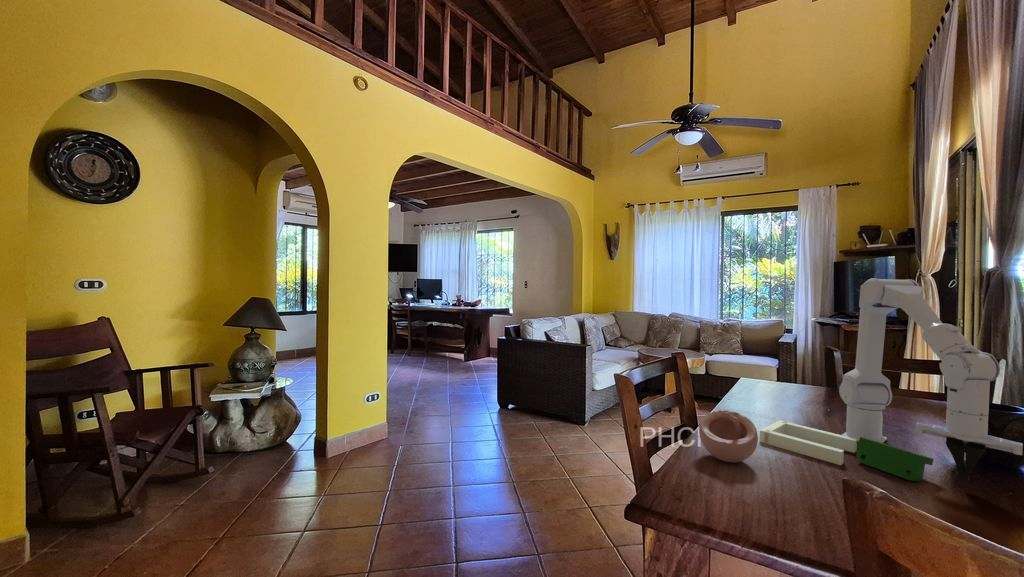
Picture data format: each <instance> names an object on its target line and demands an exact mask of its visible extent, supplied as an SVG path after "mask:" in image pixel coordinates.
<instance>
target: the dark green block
mask: <svg viewBox="0 0 1024 577" xmlns="http://www.w3.org/2000/svg"><path fill="white" fill-rule="evenodd" d="M855 455H856V459H857V461H858V462H860V463H861V464H863V465H867V466H869V467H872V468H874V469H878V470H880V471H883V472H885V473H888V474H891V475H894V476H897V477H899V478H902V479H905V480H908V481H913V482H920V481H922V480H923V477H924V473H925V465H930V466H933V463H934V458H932V457H929V456H926V455H922V454H920V453H917V452H912V451H909V450H906V449H901V448H899V447H897V446H896V447H895V446H893V445H891V444H888V443H886V442H883V443H882V442H878V441H875V440H871V439H867V438H862V437H860V439H859V442H858V443H857V451H856V453H855Z"/></svg>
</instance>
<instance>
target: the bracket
mask: <svg viewBox="0 0 1024 577" xmlns="http://www.w3.org/2000/svg"><path fill="white" fill-rule="evenodd" d="M759 443H763V444H767V445H769V446H773V447H777V448H779V449H783V450H786V451H790V452H792V453H793V452H794V453H797V454H801V455H805V456H808V457H811V458H815V459H818V460H821V461H825V462H828V463H832V464H835V465H838V466H842V465H843V464H844V458H845V451H846V452H849V453H855V454H856V453H857V449H858V441H857V439H855V438H851V437H847V436H843V435H842V434H838V433H834V432H829V431H826V430H821V429H817V428H813V427H809V426H804V425H801V424H797V423H794V422H788V421H785V420H781V419H779V420H777V421H776V422H773V423H772V424H769V425H767V426H766V427H764V428H761V429H760V430H759Z"/></svg>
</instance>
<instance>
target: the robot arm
mask: <svg viewBox="0 0 1024 577" xmlns="http://www.w3.org/2000/svg"><path fill="white" fill-rule="evenodd" d="M919 284H920V283H918V282H917V281H916V280H914V279H909V278H907V279H891V278H890V279H888V278H887V279H886V278H883V279H881V278H875V277H874V278H869V279H867V280H866V281H865V282H864V283H862V284H861V285H860V289H859V290H860V292H859V300H858V301H859V302H858V307H859V308H860V309H859V318H858V319H859V320H858V330H857V331H858V332H857V343H856V355H855V366H854V369H852V370H850V371H848V372H846V373H845V374H843V375H842V381H841V383H840V385H839V388H838V392H839V396H840V398H841V400H842V401H843V403H844V404H845V405H846V425H845V426H846V427H845V432H844V433H842V434H841V435H843V436H847V437H851V438H855V439H857V443H859V439H860V437H862V438H867V439H871V440H875V441H878V442H882V443H885V441H886V440H887V439H888V438H887V437H886V436H883V420H884V418H883V416H884V415H883V410H887V409H886V407H888V406H889V405H890V404H891V403H892V400H893V392H892V390H891V380H890V379H889V378H888V377H886V376H885V375H883V373H882V368H883V367H882V366H883V359H884V358H883V356H884V345H885V334H886V325H887V324H886V322H887V315H888V314H890V313H891V312H893V311H895V310H896V309H901V310H902V311H903V312H905V314H906V315H908V316H909V318H910V319H912V320H913V322H914V323H916V324H917V325H918V327H920V329H922V330H923V332H922V333H921V334H922V335H921V337H922V340H923V341H924V342H925V343H926V344H927V346H929V348H930V349H931V350H932V351H933V353H934V354H935V355H936V356H937V357H938V359H939V360H941V362H939V364H938V365H939V370H940V372H941V373H942V375H943V378H944V381H943V384H945V387H947V391H946V392H947V393H946V396H947V397H946V413H945V414H946V416H945V417H946V418H945V425H944V426H943V425H938V424H930V423H924V422H919V421H918V422H916V423H915V433H916V434H921V435H922V434H925V435H929V436H934V437H939V438H943V439H946V440H945V445H946V447H947V449H948V451H949V452H950V454H951V457H952V458H953V460H954V461H953V462H954V463H955V466H956V469H957V474H958V475H957V476H958V478H959V479H961V480H967V481H970V478H971V477H970V476H971V473H972V470H973V468H974V466H975V465H976V463H977V462H978V461H979V459H980V458H981V457H982V456H983V455H984V453H985V452H986V448H988V449H994V450H999V451H1003V452H1007V453H1008V452H1009V453H1013V454H1014V455H1017V456H1023V448H1024V447H1023V446H1024V444H1023V443H1022V442H1018V441H1014V440H1009V439H1005V438H1001V437H997V436H993V435H989V434H988V433H989V412H990V387H991V382H993V381H996V379H997V378H999V376H1000V374H1001V367H1000V366H1001V365H1000V364H999V362H998V360H997V359H996V358H995V356H994V355H993V354H991V353H990V352H989V353H988V352H984V351H981V350H980V349H979V348H976V347H975V346H974V345H972V343H970V341H969V340H968V339H967V338H966V337H965V336H964V334H962V333H961V332H960V331H961V330H960V328H958V327H957V325H953V324H950V323H943V322H942V321H941V319H940V318H939V317H938V315H937V314H936V313H935V311H934V310H933V308H932V307H931V306H930V305H929V304H928V302H927V301H926V300H925V298H924V297H923V295H924V288H922V286H920V285H919Z"/></svg>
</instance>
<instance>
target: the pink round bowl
mask: <svg viewBox="0 0 1024 577" xmlns="http://www.w3.org/2000/svg"><path fill="white" fill-rule="evenodd" d="M699 422H700V423H699V426H698V427H699V428H698V431H699V432H698V435H699V438H700V441H701V444H702V445H703V447H704V448H705V449H706V451H707V452H708V453H709V454H710V455H711V456H712V457H714V458H716V459H718V460H719V461H723V462H727V463H739V462H742V461H745V460H748V459H749V458H750V457H751V456H752V455H753V454H754V453H755V451H756V449H757V448H758V447H757V446H758V440H759V438H758V436H759V435H758V431H757V428H756V425H755V423H754V422H753V421H752V420H751V419H750V418H748V417H747V416H745V415H743V414H740V413H739V412H737V411H729V410H726V409H724V410H722V409H721V410H720V409H719V410H714V411H712V412H709V413H707V414H706V415H704V416H703V418H702V419H701V420H700V421H699Z"/></svg>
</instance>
